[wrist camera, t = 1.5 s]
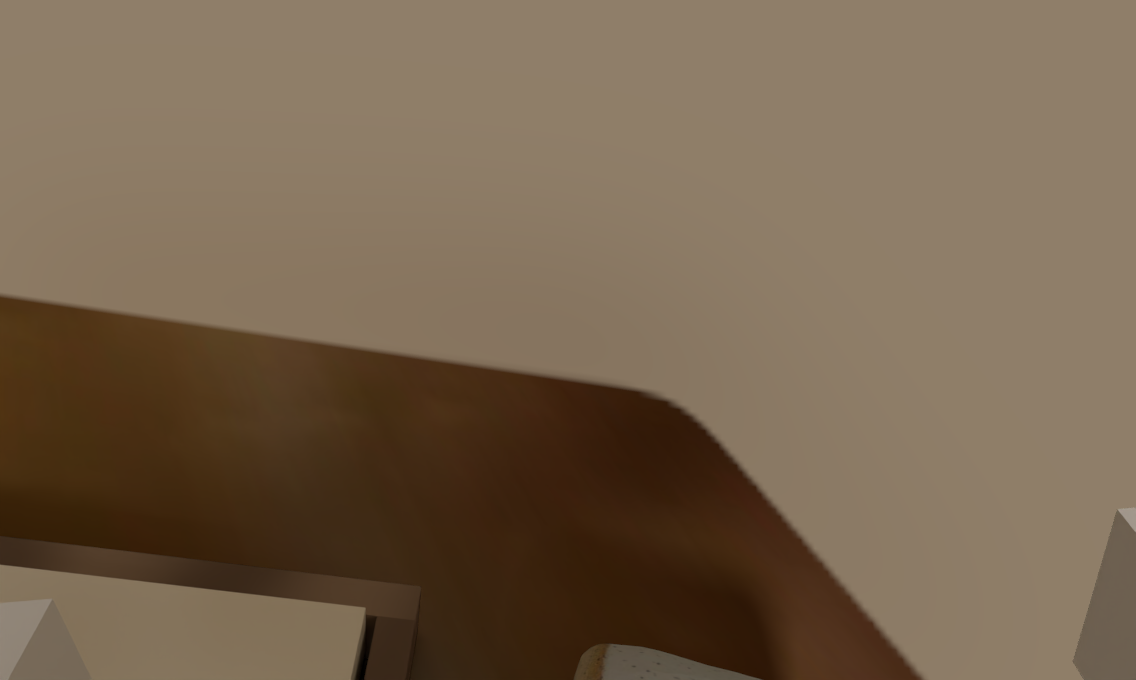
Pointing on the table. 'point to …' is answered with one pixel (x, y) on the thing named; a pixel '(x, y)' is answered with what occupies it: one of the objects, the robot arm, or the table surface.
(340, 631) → the cream key
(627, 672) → the ceramic mug
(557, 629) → the table surface
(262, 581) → the key pad frame
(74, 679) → the robot arm
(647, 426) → the table surface
